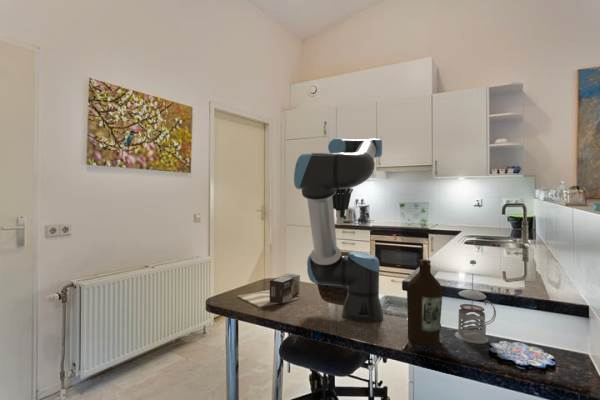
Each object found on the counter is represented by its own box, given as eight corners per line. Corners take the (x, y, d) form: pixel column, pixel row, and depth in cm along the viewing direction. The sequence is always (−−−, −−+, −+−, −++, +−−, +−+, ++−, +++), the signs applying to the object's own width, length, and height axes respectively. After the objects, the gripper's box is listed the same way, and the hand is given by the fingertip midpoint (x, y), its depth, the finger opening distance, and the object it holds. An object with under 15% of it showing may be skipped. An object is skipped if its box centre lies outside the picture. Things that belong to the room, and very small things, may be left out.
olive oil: (399, 334, 112) (401, 257, 112) (427, 331, 115) (428, 257, 115) (418, 347, 102) (420, 263, 102) (449, 344, 105) (450, 262, 105)
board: (298, 299, 149) (298, 298, 149) (259, 307, 136) (259, 306, 136) (275, 290, 163) (275, 289, 163) (237, 297, 150) (237, 295, 150)
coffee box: (287, 273, 157) (269, 279, 142) (300, 274, 154) (283, 281, 140) (287, 293, 157) (268, 301, 142) (299, 295, 154) (282, 304, 140)
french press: (453, 329, 117) (455, 256, 118) (491, 334, 114) (493, 259, 114) (456, 340, 108) (457, 261, 108) (497, 346, 104) (499, 264, 104)
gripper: (357, 173, 154) (356, 225, 154) (337, 174, 164) (335, 223, 164) (345, 171, 150) (344, 226, 149) (325, 173, 160) (324, 224, 160)
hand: (340, 224), depth 157 cm, fingers closed
